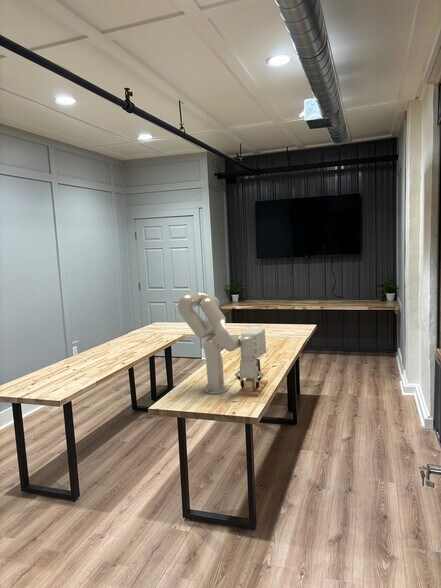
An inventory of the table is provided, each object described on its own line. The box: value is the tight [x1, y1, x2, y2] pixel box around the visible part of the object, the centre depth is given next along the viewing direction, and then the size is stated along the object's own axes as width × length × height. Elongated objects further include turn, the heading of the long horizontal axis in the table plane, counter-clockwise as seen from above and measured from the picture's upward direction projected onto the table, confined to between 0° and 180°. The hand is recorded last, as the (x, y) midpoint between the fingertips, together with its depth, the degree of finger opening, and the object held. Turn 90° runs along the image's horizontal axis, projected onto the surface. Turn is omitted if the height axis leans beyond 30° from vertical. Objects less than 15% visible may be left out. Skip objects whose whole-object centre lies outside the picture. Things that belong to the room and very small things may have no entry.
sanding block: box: [244, 378, 255, 392], centre depth 238 cm, size 7×4×6 cm, turn 161°
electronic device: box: [256, 358, 262, 373], centre depth 271 cm, size 4×10×10 cm, turn 51°
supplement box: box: [240, 328, 267, 359], centre depth 318 cm, size 17×13×18 cm
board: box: [236, 379, 269, 398], centre depth 244 cm, size 24×12×2 cm, turn 161°
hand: (250, 387), depth 238 cm, fingers open, 7 cm apart
